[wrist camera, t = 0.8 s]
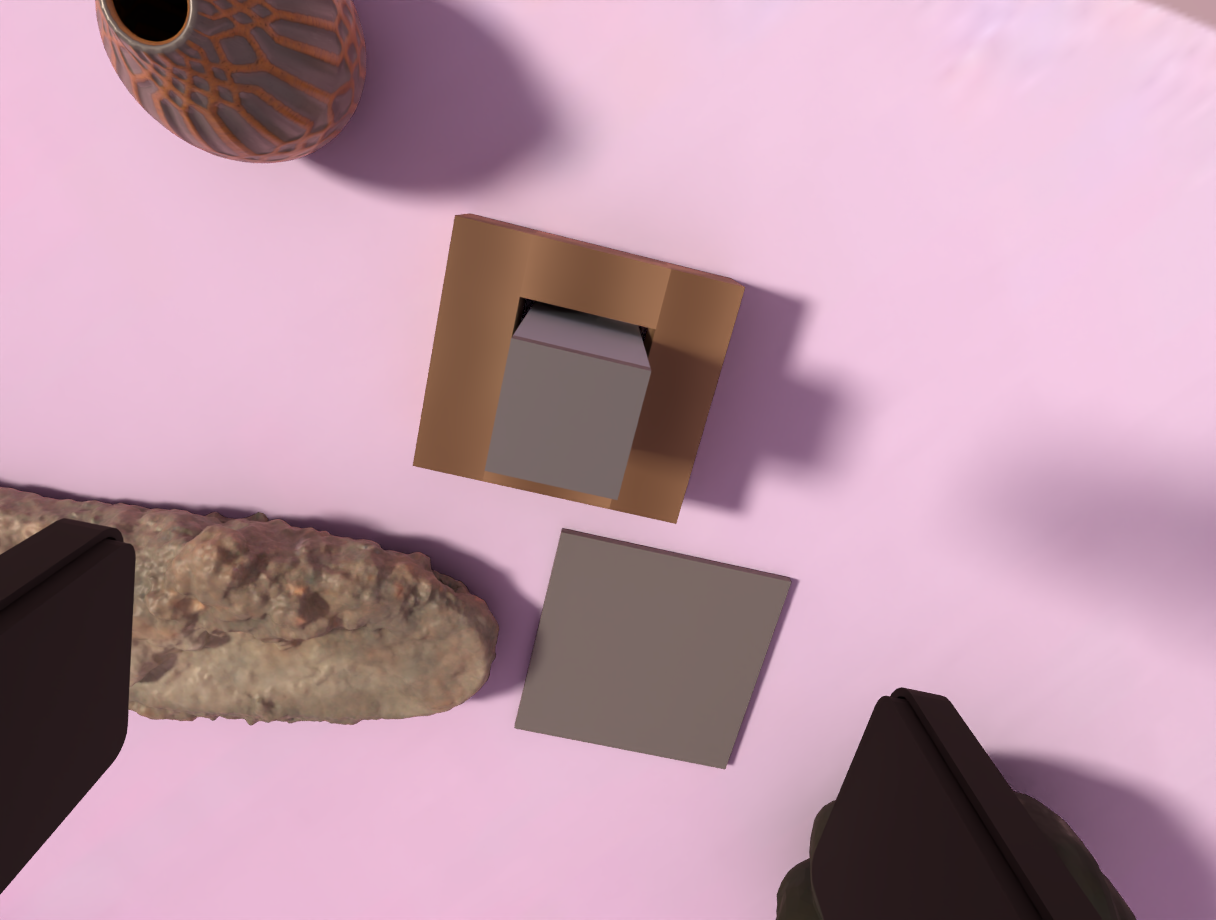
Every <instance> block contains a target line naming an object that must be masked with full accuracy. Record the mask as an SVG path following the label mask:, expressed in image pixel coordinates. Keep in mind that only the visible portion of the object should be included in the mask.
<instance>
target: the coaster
mask: <svg viewBox="0 0 1216 920" xmlns="http://www.w3.org/2000/svg"><path fill="white" fill-rule="evenodd" d="M790 585H791V580H790V578H789V577H784V576H780V575H775V574H770V573H766V572H761V571H757V570H752V569H747V568H743V567H738V566H734V565H729V564H724V563H720V562H715V561H711V560H706V559H701V558H697V557H692V556H687V555H683V554H678V553H674V552H669V551H664V550H660V549H655V548H651V547H646V546H641V545H637V544H632V543H628V542H623V541H618V540H614V539H609V538H605V537H600V536H595V535H591V534H586V533H582V532H577V531H572V530H568V529H563V528H562V531H561V535H560V539H559V543H558V548H557V552H556V556H555V560H554V564H553V568H552V572H551V577H550V581H549V585H548V589H547V593H546V597H545V601H544V606H543V610H542V614H541V618H540V622H539V626H538V631H537V635H536V639H535V643H534V647H533V651H532V655H531V660H530V664H529V668H528V672H527V676H526V680H525V684H524V689H523V693H522V697H521V701H520V705H519V709H518V714H517V718H516V722H515V727H514V728H516V729H521V730H526V731H531V732H536V733H542V734H547V735H552V736H557V737H562V738H567V739H572V740H578V741H583V742H588V743H593V744H598V745H603V746H608V747H614V748H619V749H624V750H629V751H634V752H639V753H644V754H649V755H655V756H660V757H665V758H670V759H675V760H680V761H685V762H691V763H696V764H701V765H706V766H711V767H716V768H721V769H726V766H727V763H728V760H729V757H730V755H731V752H732V749H733V746H734V743H735V740H736V738H737V735H738V732H739V729H740V726H741V723H742V721H743V718H744V715H745V712H746V709H747V706H748V704H749V701H750V698H751V695H752V692H753V689H754V687H755V684H756V681H757V678H758V675H759V672H760V670H761V667H762V664H763V661H764V658H765V655H766V653H767V650H768V647H769V644H770V641H771V638H772V636H773V633H774V630H775V627H776V624H777V621H778V619H779V616H780V613H781V610H782V607H783V604H784V602H785V599H786V596H787V593H788V590H789V587H790Z"/></svg>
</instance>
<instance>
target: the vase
mask: <svg viewBox="0 0 1216 920" xmlns="http://www.w3.org/2000/svg"><path fill="white" fill-rule="evenodd" d="M95 4H96V15H97V21H98V26H99V31H100V35H101V38H102V42H103V45H104V48H105V50H106V53H107V55H108V57H109V59H110V62H111V64H112V66H113V67H114V69H115V71H116V73H117V74H118V76H119V78H120V79H121V81H122V82H123V84H124V85H125V87H126V88H127V89H128V91H129V92H130V94H131V95H132V96H133V97H134V98H135V100H136V101H137V102H138V103H139V104H140V105H141V106H142V107H143V108H144V109H145V110H146V111H147V112H148V113H149V114H150V115H151V116H152V117H153V118H154V119H155V120H157V121H158V122H159V123H160V124H161V125H163V126H164V127H165V128H166V129H168V130H169V131H170V132H172V133H173V134H175V135H176V136H178V137H179V138H181V139H183V140H184V141H186V142H188V143H189V144H191V145H193V146H195V147H197V148H199V149H201V150H204V151H206V152H209V153H211V154H213V155H216V156H219V157H223V158H227V159H231V160H236V161H242V162H250V163H276V162H283V161H289V160H294V159H298V158H301V157H304V156H306V155H309V154H311V153H313V152H315V151H316V150H318V149H320V148H321V147H323V146H325V145H326V144H327V143H329V142H330V141H331V140H332V139H334V138H335V137H336V136H337V135H338V134H339V133H340V132H341V131H342V130H343V128H344V127H345V126H346V125H347V123H348V122H349V120H350V119H351V117H352V115H353V114H354V112H355V110H356V107H357V105H358V103H359V100H360V98H361V94H362V91H363V86H364V82H365V74H366V47H365V40H364V35H363V30H362V26H361V23H360V20H359V17H358V14H357V11H356V8H355V6H354V3H353V1H352V0H95Z"/></svg>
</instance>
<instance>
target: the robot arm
mask: <svg viewBox="0 0 1216 920" xmlns="http://www.w3.org/2000/svg"><path fill="white" fill-rule="evenodd" d="M135 563H136V554H135V549H134V546H132V545H131V544H130V543H125V542H124V539H123V536H122V534H121V532H120V531H119V530H118V529H117V528H113V527H108V526H103V525H98V524H93V523H88V522H83V521H78V520H73V519H67V518H63V519H60V520H58V521H55V522H54V523H52V524H50V525H49V526H47V527H45V528H44V529H42V530H40V531H39V532H37V533H35V534H34V535H32V536H30V537H29V538H27V539H25V540H24V541H22V542H20V543H19V544H17V545H15V546H14V547H12V548H10V549H9V550H7V551H5V552H4V553H2V554H0V894H1V893H2V892H3V891H4V890H5V888H6V887H7V886H8V885H9V884H10V883H11V881H12V880H13V879H14V878H15V877H16V876H17V874H18V873H19V872H20V871H21V870H22V868H23V867H24V866H25V865H26V864H27V863H28V861H29V860H30V859H31V858H32V857H33V856H34V854H35V853H36V852H37V851H38V850H39V849H40V847H41V846H42V845H43V844H44V843H45V842H46V840H47V839H48V838H49V837H50V836H51V834H52V833H53V832H54V831H55V830H56V829H57V827H58V826H59V825H60V824H61V823H62V822H63V820H64V819H65V818H66V817H67V816H68V815H69V813H70V812H71V811H72V810H73V809H74V808H75V806H76V805H77V804H78V803H79V802H80V801H81V799H82V798H83V797H84V796H85V795H86V793H87V792H88V791H89V790H90V789H91V788H92V786H93V785H94V784H95V783H96V782H97V781H98V779H99V778H100V777H101V776H102V775H103V774H104V772H105V771H106V770H107V769H108V768H109V767H110V765H111V764H112V763H113V762H114V760H115V759H116V757H117V756H118V754H119V752H120V750H121V748H122V746H123V744H124V741H125V738H126V734H127V727H128V708H129V687H130V666H131V646H132V625H133V604H134V583H135ZM812 882H813V886H814V889H815V893H816V896H817V899H818V902H819V905H820V909H821V912H822V915H823V918H824V920H1103V919H1102V918H1101V916H1100V915H1099V913H1098V912H1097V911H1096V909H1095V908H1094V906H1093V905H1092V903H1091V902H1090V901H1089V899H1088V898H1087V896H1086V895H1085V893H1084V892H1083V891H1082V889H1081V888H1080V886H1079V885H1078V883H1077V882H1076V881H1075V879H1074V878H1073V876H1072V875H1071V873H1070V872H1069V871H1068V869H1067V868H1066V866H1065V865H1064V863H1063V862H1062V861H1061V859H1060V858H1059V856H1058V855H1057V853H1056V852H1055V851H1054V849H1053V848H1052V846H1051V845H1050V843H1049V842H1048V841H1047V839H1046V838H1045V836H1044V835H1043V833H1042V832H1041V830H1040V829H1039V828H1038V826H1037V825H1036V823H1035V822H1034V820H1033V819H1032V818H1031V816H1030V815H1029V813H1028V812H1027V810H1026V809H1025V808H1024V806H1023V805H1022V803H1021V802H1020V800H1019V799H1018V798H1017V796H1016V795H1015V793H1014V792H1013V790H1012V789H1011V788H1010V786H1009V785H1008V783H1007V782H1006V780H1005V779H1004V778H1003V776H1002V775H1001V773H1000V772H999V770H998V769H997V768H996V766H995V765H994V763H993V762H992V760H991V759H990V758H989V756H988V755H987V753H986V752H985V750H984V749H983V748H982V746H981V745H980V743H979V742H978V740H977V739H976V738H975V736H974V735H973V733H972V732H971V730H970V729H969V728H968V726H967V725H966V723H965V722H964V720H963V719H962V718H961V716H960V715H959V713H958V712H957V710H956V709H955V708H954V706H953V705H952V703H951V702H950V701H949V700H948V699H947V698H946V697H944V696H941V695H936V694H932V693H927V692H922V691H917V690H912V689H907V688H902V687H901V688H898V689H896V690H895V691H894V692H893V693H892V694H891V696H890V697H889V696H883V697H881V698H880V699H879V700H878V702H877V704H876V705H875V708H874V710H873V712H872V715H871V717H870V720H869V722H868V724H867V727H866V729H865V732H864V734H863V736H862V739H861V741H860V744H859V746H858V749H857V751H856V753H855V756H854V758H853V761H852V763H851V765H850V768H849V770H848V773H847V775H846V777H845V780H844V782H843V785H842V787H841V789H840V792H839V794H838V797H837V799H836V801H835V804H834V806H833V809H832V811H831V813H830V816H829V818H828V821H827V823H826V826H825V828H824V830H823V833H822V835H821V838H820V840H819V842H818V845H817V847H816V850H815V852H814V856H813V860H812Z"/></svg>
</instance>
